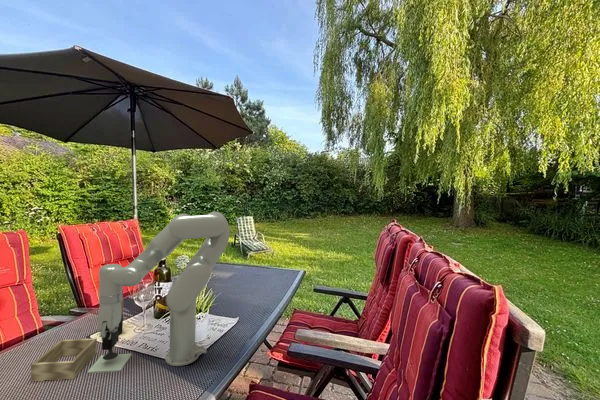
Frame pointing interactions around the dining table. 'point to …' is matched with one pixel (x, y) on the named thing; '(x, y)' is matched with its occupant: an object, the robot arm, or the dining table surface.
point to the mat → (110, 364)
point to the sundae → (114, 341)
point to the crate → (66, 369)
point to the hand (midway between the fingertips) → (110, 345)
